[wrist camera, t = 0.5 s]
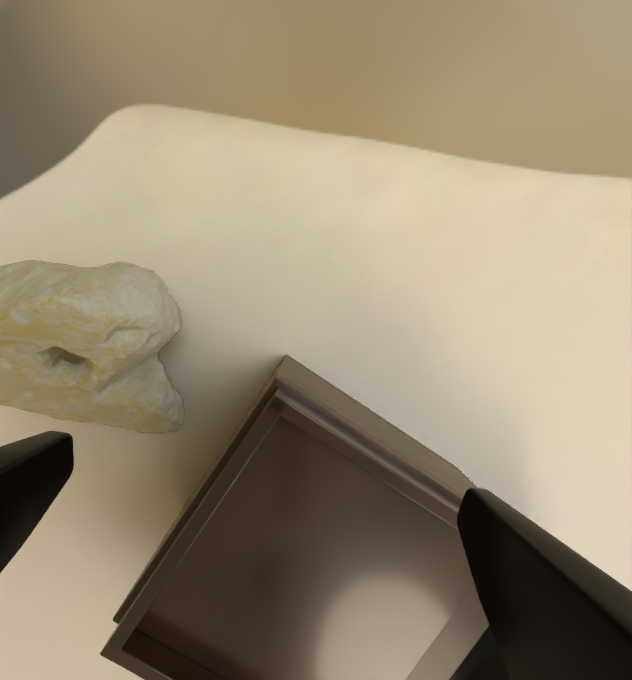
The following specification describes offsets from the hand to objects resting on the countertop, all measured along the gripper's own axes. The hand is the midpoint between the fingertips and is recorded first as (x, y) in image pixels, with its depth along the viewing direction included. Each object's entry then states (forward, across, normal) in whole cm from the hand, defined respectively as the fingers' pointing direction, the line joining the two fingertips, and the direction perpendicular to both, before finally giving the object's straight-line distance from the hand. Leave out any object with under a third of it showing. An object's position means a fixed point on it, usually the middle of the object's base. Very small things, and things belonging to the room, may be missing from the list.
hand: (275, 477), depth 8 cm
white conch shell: (+15, +14, +4) cm, 21 cm away
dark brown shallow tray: (+5, -3, +9) cm, 11 cm away
